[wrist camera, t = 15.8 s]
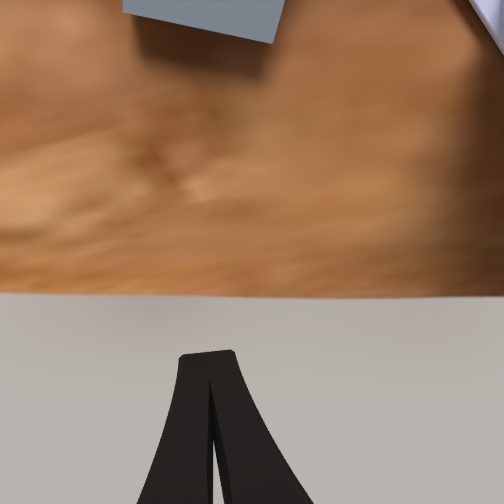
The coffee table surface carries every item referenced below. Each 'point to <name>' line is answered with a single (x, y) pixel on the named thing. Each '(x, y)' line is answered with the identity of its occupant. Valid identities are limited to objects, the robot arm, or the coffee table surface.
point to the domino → (215, 15)
